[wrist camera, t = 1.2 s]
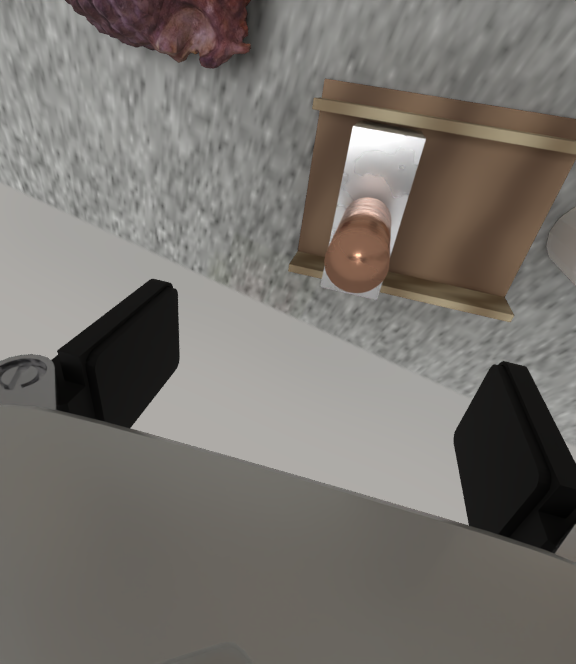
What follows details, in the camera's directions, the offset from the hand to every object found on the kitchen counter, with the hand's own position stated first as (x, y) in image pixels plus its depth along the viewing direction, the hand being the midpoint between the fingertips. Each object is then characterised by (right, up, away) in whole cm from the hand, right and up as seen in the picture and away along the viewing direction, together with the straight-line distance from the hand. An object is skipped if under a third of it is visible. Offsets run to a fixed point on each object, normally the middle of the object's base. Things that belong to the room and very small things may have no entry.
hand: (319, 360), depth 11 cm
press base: (+9, +11, +18) cm, 23 cm away
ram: (+5, +11, +17) cm, 21 cm away
